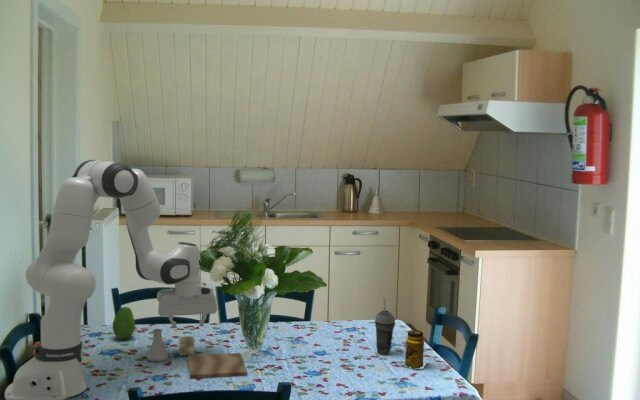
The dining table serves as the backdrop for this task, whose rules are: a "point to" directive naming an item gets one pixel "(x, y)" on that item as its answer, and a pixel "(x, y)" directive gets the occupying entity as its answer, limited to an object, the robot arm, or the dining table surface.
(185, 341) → the birch cube
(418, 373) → the dining table surface
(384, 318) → the beverage cup
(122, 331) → the avocado
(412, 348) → the condiment
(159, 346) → the flask
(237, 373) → the walnut board
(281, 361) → the dining table surface
